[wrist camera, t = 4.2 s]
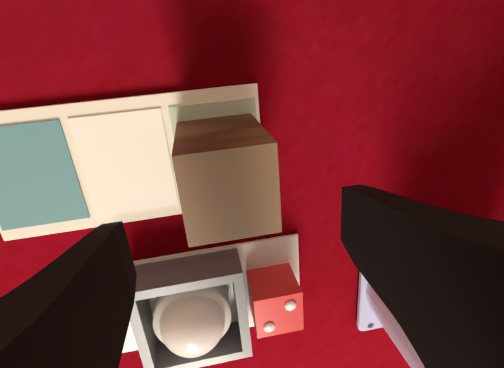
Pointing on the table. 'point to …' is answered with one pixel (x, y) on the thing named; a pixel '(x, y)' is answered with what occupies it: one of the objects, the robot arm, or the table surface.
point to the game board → (100, 158)
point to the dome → (192, 320)
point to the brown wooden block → (226, 179)
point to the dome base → (239, 292)
